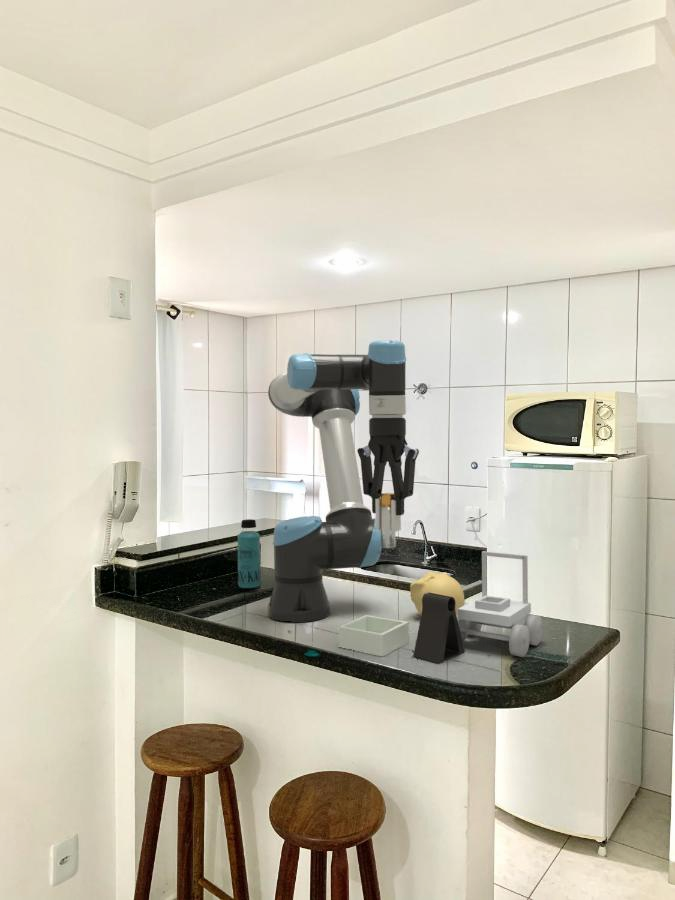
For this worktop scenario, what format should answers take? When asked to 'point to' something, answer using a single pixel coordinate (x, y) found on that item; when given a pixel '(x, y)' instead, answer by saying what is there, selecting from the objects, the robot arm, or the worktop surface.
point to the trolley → (502, 613)
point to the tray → (374, 635)
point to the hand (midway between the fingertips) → (388, 529)
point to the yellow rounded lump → (436, 589)
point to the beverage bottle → (248, 556)
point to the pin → (387, 521)
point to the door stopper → (438, 630)
